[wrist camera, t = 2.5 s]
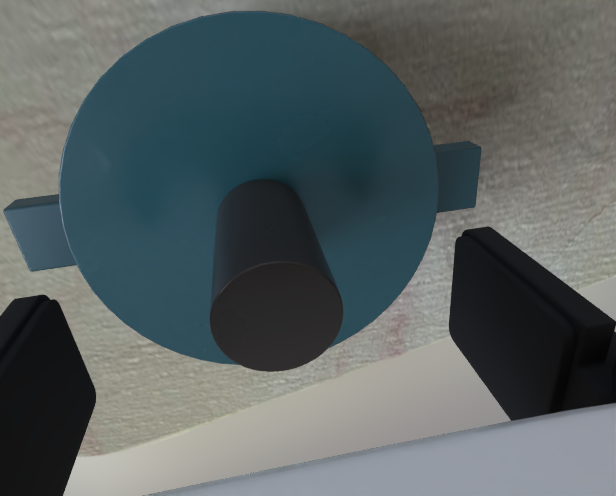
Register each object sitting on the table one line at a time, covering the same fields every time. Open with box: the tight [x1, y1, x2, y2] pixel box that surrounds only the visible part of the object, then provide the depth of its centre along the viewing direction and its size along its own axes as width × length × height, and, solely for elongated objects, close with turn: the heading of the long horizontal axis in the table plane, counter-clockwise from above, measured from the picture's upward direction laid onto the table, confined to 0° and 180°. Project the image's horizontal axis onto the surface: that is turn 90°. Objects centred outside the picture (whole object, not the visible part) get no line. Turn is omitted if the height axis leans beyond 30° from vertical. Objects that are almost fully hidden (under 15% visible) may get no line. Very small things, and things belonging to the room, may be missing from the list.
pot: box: [4, 141, 481, 271], centre depth 19 cm, size 11×17×10 cm
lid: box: [59, 11, 439, 372], centre depth 13 cm, size 12×12×7 cm
